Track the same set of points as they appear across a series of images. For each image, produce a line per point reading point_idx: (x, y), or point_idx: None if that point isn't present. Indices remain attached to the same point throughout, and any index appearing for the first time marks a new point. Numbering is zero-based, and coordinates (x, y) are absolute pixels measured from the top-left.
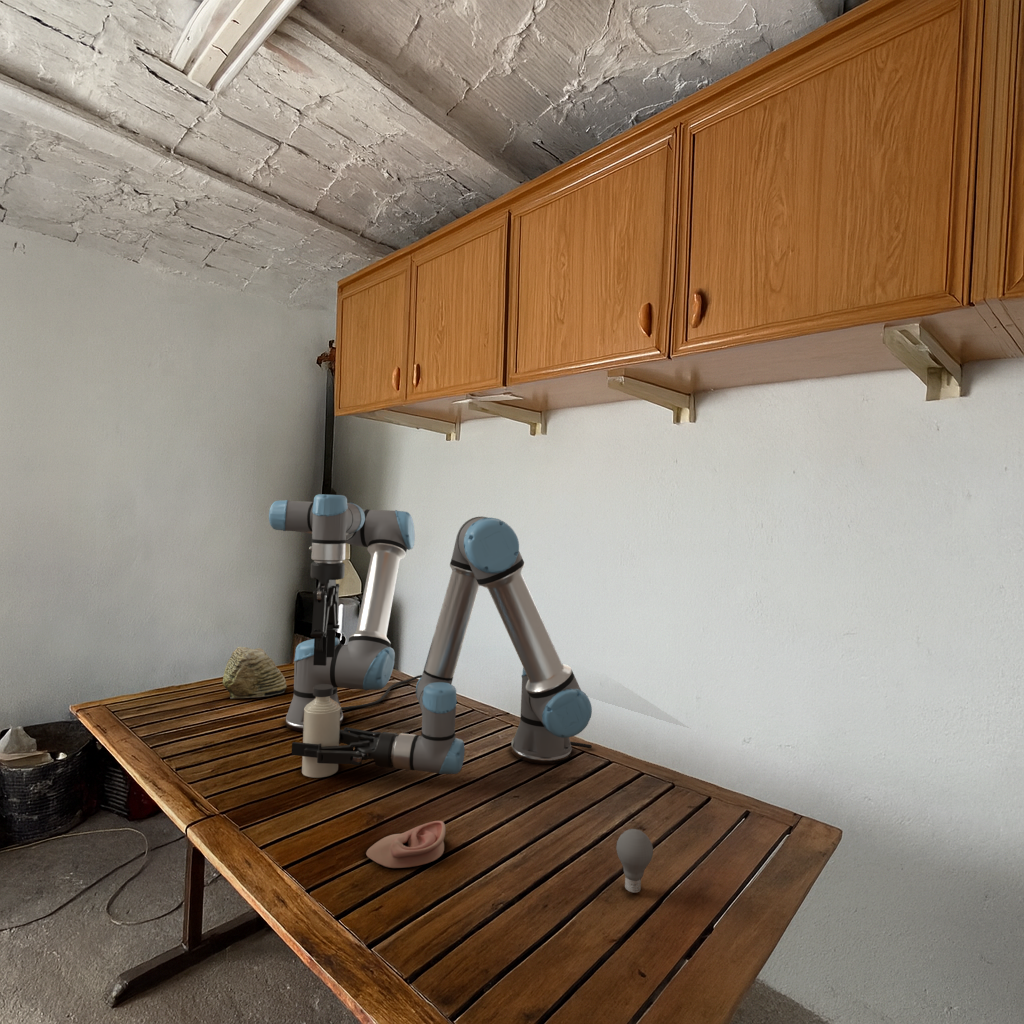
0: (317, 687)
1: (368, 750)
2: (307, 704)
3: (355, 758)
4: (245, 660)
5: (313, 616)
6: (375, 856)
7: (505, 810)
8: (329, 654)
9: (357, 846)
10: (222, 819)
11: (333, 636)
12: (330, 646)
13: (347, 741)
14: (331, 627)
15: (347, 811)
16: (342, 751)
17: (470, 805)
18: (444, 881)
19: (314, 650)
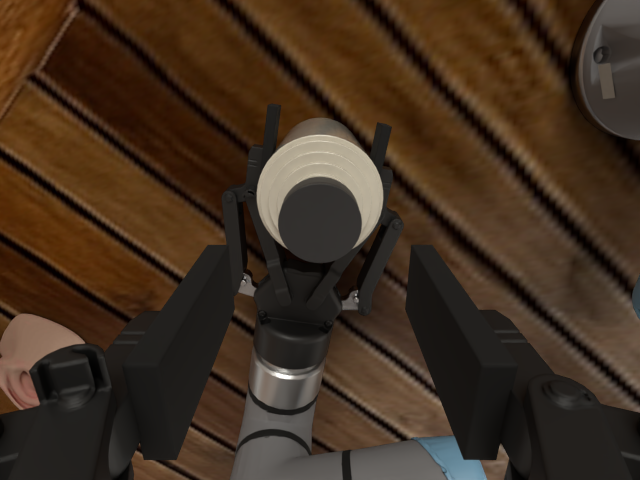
0: (308, 203)
1: (257, 303)
2: (326, 144)
3: None
4: None
5: None
6: (8, 330)
7: (203, 466)
8: (410, 294)
9: (44, 295)
10: (54, 16)
11: (445, 400)
12: (423, 328)
13: None
14: (509, 445)
15: (149, 257)
16: (237, 251)
17: (210, 427)
18: (2, 407)
19: (177, 293)
